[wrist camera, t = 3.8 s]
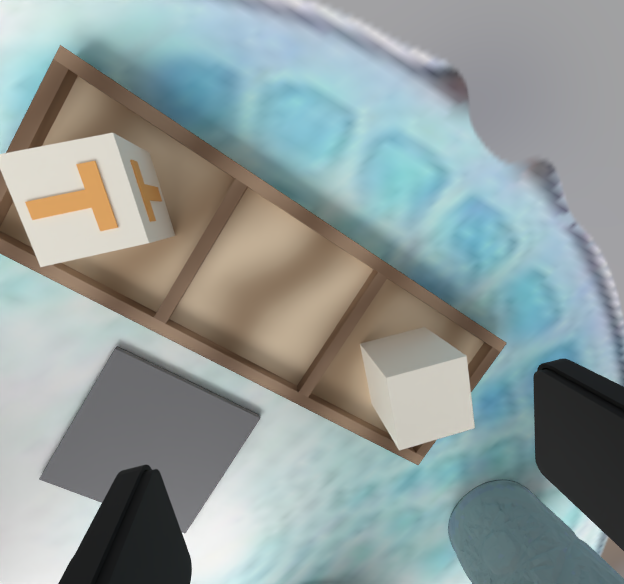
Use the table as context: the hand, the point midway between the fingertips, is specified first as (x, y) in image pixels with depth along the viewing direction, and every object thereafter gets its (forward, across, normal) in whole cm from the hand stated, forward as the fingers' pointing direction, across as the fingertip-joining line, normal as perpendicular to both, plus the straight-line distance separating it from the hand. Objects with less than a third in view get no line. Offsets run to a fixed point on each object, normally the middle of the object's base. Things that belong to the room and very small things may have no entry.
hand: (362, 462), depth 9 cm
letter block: (+16, +9, -8) cm, 20 cm away
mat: (+16, +12, +9) cm, 22 cm away
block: (+16, -6, +7) cm, 19 cm away
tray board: (+17, +1, 0) cm, 17 cm away
